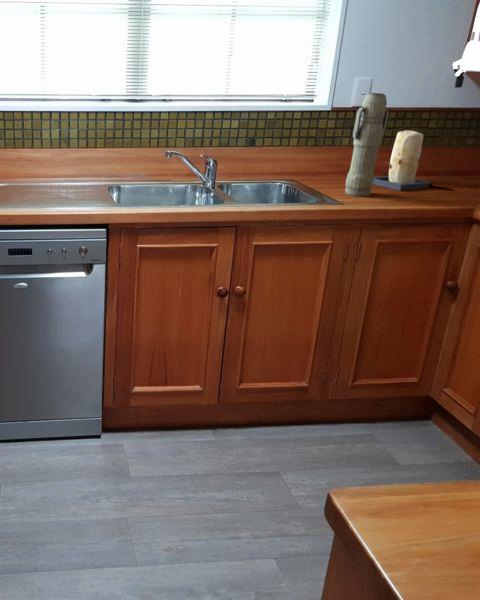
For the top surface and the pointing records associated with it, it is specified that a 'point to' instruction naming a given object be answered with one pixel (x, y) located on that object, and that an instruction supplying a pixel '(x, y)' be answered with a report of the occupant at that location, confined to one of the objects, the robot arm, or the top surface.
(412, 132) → the food model
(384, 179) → the tray
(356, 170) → the thermos
